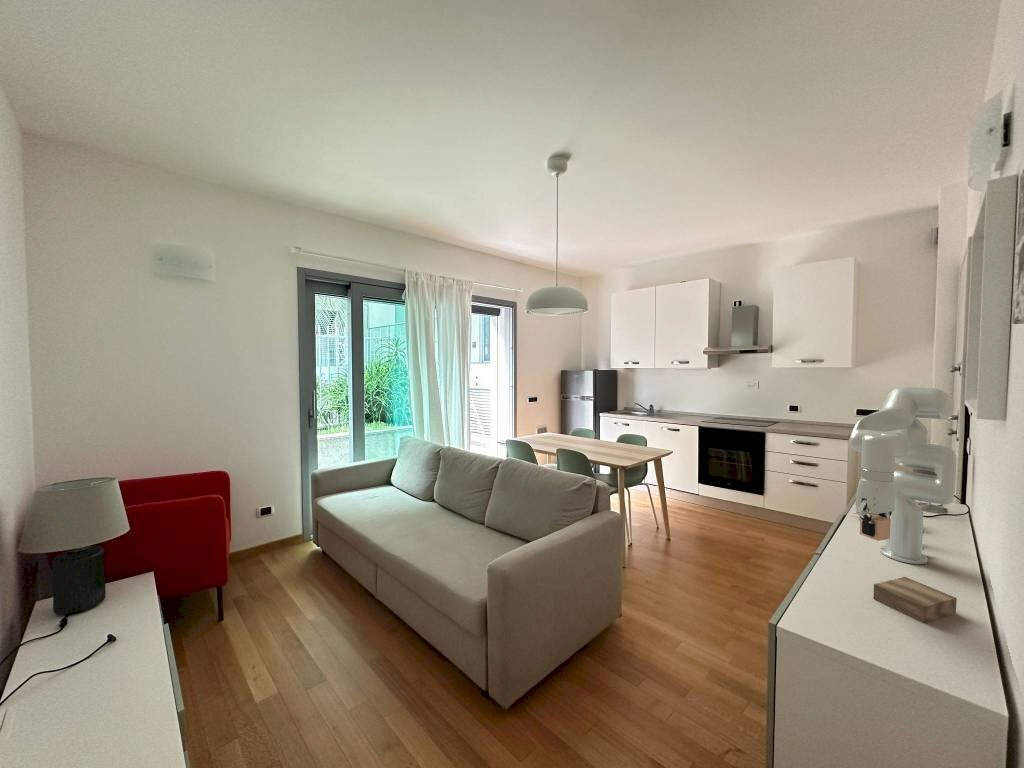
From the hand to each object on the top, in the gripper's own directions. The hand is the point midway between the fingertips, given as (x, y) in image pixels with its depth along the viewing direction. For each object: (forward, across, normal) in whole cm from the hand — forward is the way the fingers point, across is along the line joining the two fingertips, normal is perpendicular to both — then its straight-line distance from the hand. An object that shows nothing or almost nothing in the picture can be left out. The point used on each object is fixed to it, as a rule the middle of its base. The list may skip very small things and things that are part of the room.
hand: (874, 533), depth 124 cm
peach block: (+1, 0, 0) cm, 1 cm away
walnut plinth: (+20, -4, +8) cm, 22 cm away
